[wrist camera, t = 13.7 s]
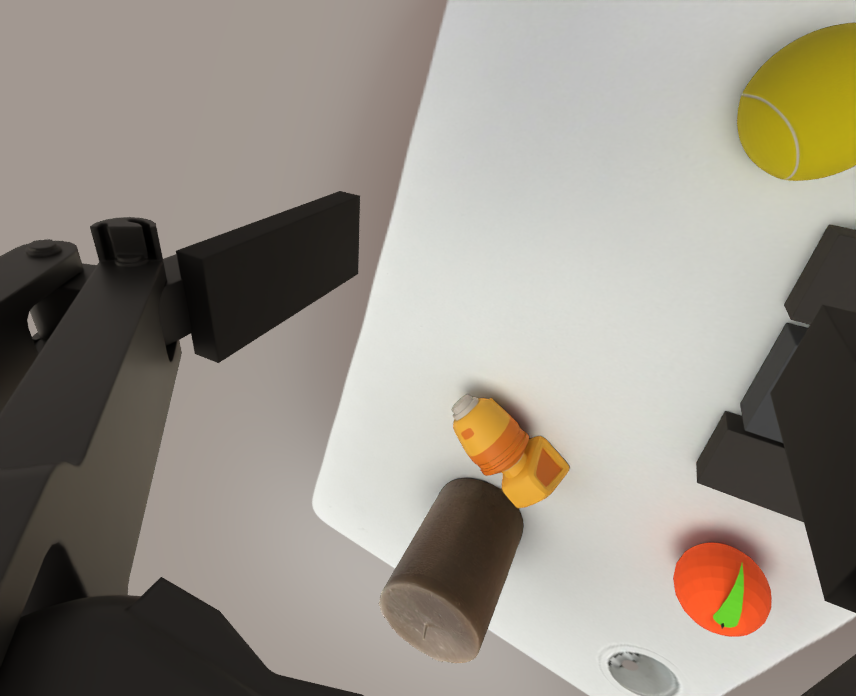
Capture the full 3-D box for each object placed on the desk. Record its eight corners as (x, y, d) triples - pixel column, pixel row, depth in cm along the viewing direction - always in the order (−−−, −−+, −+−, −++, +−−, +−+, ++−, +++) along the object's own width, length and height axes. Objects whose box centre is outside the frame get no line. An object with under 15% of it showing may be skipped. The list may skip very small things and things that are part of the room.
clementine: (691, 504, 42) (692, 570, 36) (784, 535, 40) (801, 610, 34) (664, 565, 46) (661, 633, 40) (748, 596, 44) (757, 673, 38)
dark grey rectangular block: (786, 322, 33) (795, 344, 30) (882, 347, 31) (902, 373, 29) (739, 404, 37) (744, 430, 34) (823, 430, 35) (836, 461, 32)
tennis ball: (762, 192, 30) (779, 217, 25) (711, 89, 29) (718, 91, 24) (908, 121, 26) (968, 131, 21) (856, -2, 25) (905, -25, 20)
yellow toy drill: (451, 398, 48) (531, 489, 49) (427, 430, 44) (515, 529, 44) (490, 372, 45) (574, 469, 45) (468, 403, 41) (562, 510, 41)
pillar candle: (511, 478, 49) (455, 606, 37) (532, 552, 53) (488, 691, 41) (428, 475, 54) (355, 587, 42) (452, 542, 57) (391, 664, 45)
